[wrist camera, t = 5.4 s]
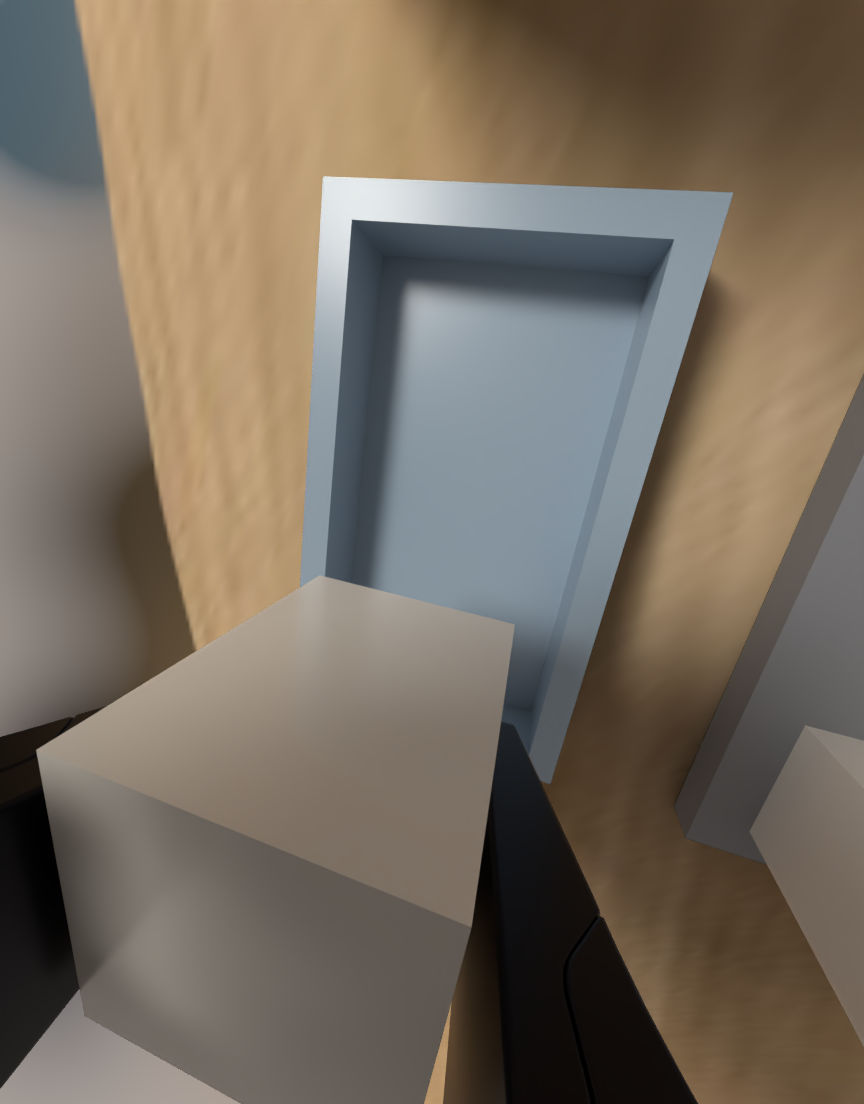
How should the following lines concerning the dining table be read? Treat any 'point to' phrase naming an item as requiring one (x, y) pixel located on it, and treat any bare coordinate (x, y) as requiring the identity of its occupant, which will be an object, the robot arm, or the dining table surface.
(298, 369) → the dining table surface
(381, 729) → the stone
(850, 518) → the slate board
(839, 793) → the stone
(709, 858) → the dining table surface
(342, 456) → the blue bin
